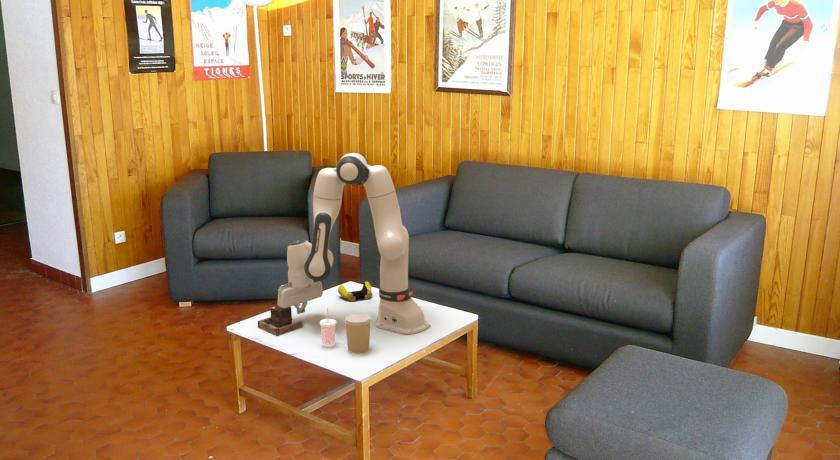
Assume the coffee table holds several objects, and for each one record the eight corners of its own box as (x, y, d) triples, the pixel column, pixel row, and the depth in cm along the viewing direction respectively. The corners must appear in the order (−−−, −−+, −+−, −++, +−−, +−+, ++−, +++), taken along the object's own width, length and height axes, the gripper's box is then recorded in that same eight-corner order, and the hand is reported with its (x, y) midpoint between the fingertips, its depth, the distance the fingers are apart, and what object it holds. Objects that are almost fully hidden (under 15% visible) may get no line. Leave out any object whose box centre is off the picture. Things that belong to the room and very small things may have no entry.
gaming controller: (337, 296, 324) (344, 303, 315) (336, 284, 323) (343, 291, 314) (368, 291, 330) (376, 298, 321) (368, 280, 329) (376, 286, 320)
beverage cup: (317, 344, 272) (315, 308, 269) (330, 339, 276) (329, 304, 273) (326, 348, 268) (325, 313, 264) (340, 344, 272) (339, 309, 268)
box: (292, 324, 292) (291, 306, 290) (281, 328, 287) (280, 311, 285) (282, 320, 295) (281, 303, 294) (270, 325, 291) (269, 307, 289)
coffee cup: (376, 348, 268) (376, 317, 265) (358, 356, 262) (357, 324, 259) (358, 341, 274) (358, 311, 272) (340, 349, 268) (339, 318, 265)
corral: (302, 327, 288) (302, 321, 288) (277, 335, 280) (277, 329, 279) (283, 319, 297) (282, 313, 296) (258, 327, 289) (257, 321, 288)
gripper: (282, 288, 282) (284, 321, 285) (324, 275, 296) (325, 308, 299) (273, 284, 286) (275, 317, 289) (314, 272, 300) (315, 304, 304)
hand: (301, 312), depth 294 cm, fingers closed
